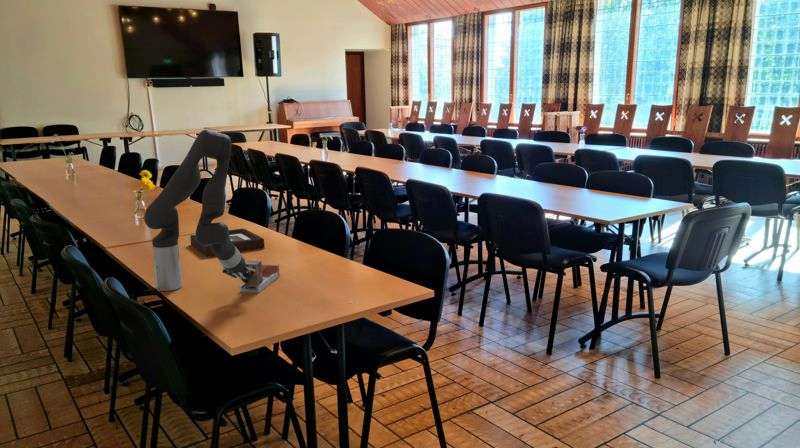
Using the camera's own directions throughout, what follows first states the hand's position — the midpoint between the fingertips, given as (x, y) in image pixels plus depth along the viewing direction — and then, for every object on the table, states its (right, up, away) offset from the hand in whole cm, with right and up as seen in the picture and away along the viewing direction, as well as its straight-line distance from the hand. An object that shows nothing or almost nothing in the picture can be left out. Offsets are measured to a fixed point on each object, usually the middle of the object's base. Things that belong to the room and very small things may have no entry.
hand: (247, 281), depth 227 cm
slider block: (+1, -2, +6) cm, 7 cm away
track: (+2, -2, +13) cm, 13 cm away
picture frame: (-28, +10, +73) cm, 78 cm away
